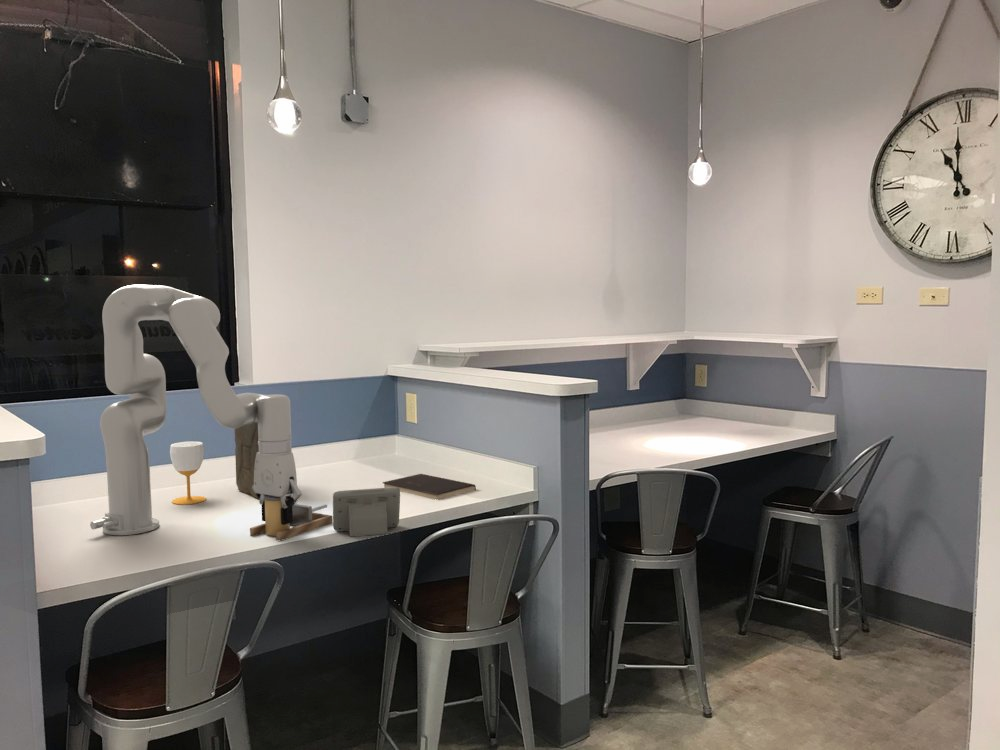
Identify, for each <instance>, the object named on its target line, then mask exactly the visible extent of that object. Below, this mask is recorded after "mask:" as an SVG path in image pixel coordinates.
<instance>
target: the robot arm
mask: <svg viewBox="0 0 1000 750" xmlns="http://www.w3.org/2000/svg"><path fill="white" fill-rule="evenodd" d="M101 314H102V315H101V317H102V328H103V329H102V330H103V337H104V340H103V341H104V345H103V347H104V348H103V349H104V350H103V351H104V379H105V384H106V388H107V389H108V390H109V391H110V392H111V393H113V394H114V395H119V396H127V395H129V399H125V400H121V401H117V402H114V403H112V404H110V405H108V406H107V407H105V409H104V410H103V412H102V414H101V416H100V419H99V420H100V421H99V426H100V427H99V428H100V431H101V432H100V433H101V437H102V440H103V443H104V451H105V463H106V475H107V476H106V477H107V479H106V480H107V495H108V496H107V498H108V512H106V513H104V517H103V518H102V519H96V520H93V521H91V522H90V524H89V526H90V528H91V530H93V531H94V530H97V529H101V528H102V532H103V533H104V534H106V535H109V536H110V535H112V536H129V535H137V534H143V533H148V532H151V531H153V530H155V529H157V528H158V527H159V526H160V520H158V519H157V518H155V517H153V509H152V488H151V487H152V486H151V469H150V468H151V466H150V455H149V449H148V447H147V443H146V441H145V439H144V436H147V435H151V434H153V433H155V432H157V431H159V430H160V429H161V428H162V427H163V426H164V424H165V421H166V417H167V388H166V387H167V385H166V384H167V382H166V381H167V379H166V371H165V368H164V366H163V364H162V362H161V361H160V359H158V358H157V357H155V356H154V355H151V354H150V353H149V354H148V353H144V338H143V333H142V330H141V328H140V326H139V323H140V322H141V321H165V322H169V324H170V326H171V327H172V329H173V332H174V333H175V335H176V336H177V338H178V340H179V341H180V344H181V345H182V346H183V348H184V350H185V351H186V353H187V354H188V356H189V358H190V359H191V361H192V363H193V364H194V366H195V370H196V379H197V380H196V381H197V385H198V390H199V394H200V396H201V398H202V401H203V402H204V404H205V406H206V407H207V408H208V410H209V412H210V414H211V416H212V417H213V418H214V420H215V421H216V422H217V423H218V424H219V425H221V427H223V428H226V429H229V430H234V429H236V428H239V427H242V426H245V425H249V424H252V423H257V422H258V445H259V452H257V454H256V459H255V467H254V485H253V486H252V489H253V490H254V492H255V493H256V495H257V497H258V500H259V502H258V503H259V504H260V505H261V521H262V522H265V499H264V495H269V496H275V497H280V499H281V502H282V506H283V508H281V524H282V525H285V524H289V523H292V522H293V510H292V506H294V505H295V504H296V503H297V501H298V499H300V498H301V496H302V491H301V490H300V488H299V487H298V481H297V479H298V478H297V468H296V461H295V457H294V453H293V452H292V451H293V450H292V445H293V444H292V420H291V418H292V417H291V410H292V409H291V400H290V397H289V396H288V395H285V394H281V393H279V394H278V393H277V394H276V393H275V394H274V393H273V394H260V393H257V392H243V393H238V394H237V393H236V392H235V391H234V389H233V388H232V385H231V384H230V382H229V380H228V378H227V374H226V362H227V360H228V356H229V355H230V350H229V346H228V345H227V344H226V342H225V340H224V339H223V337H222V335H221V334H220V332H219V331H218V329H217V327H218V325H219V323H220V322H221V313H220V309H219V308H218V305H216V303H214V302H213V301H212V300H211V299H208V298H206V297H204V296H201V295H200V296H199V295H196V294H193V293H190V292H186V291H183V290H180V289H177V288H174V287H172V286H167V285H160V284H158V285H157V284H154V285H153V284H131V285H126V286H122V287H120V288H118V289H116V290H114V291H113V292H111V294H110V295H109V296H108V297H107V298H106V300H105V302H104V305H103V307H102V313H101ZM287 496H288V500H287V501H286V497H287Z"/></svg>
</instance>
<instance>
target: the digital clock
mask: <svg viewBox="0 0 1000 750" xmlns="http://www.w3.org/2000/svg"><path fill="white" fill-rule="evenodd" d="M400 503H401V492H400V489H399V488H396V487H389V488H384V487H378V488H376V487H374V488H363V489H362V488H361V489H346V490H345V489H344V490H338V491H335V492H333V494H332V528H333V530H334V531H335V532H348V535H349V537H352V538H353V537H363V536H376V535H377V536H378V535H386V534H388V528H395V527H397V526H398V525H399V523H400V511H401V510H400V509H401V508H400V507H401V506H400V505H401V504H400Z"/></svg>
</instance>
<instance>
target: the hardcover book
mask: <svg viewBox="0 0 1000 750" xmlns="http://www.w3.org/2000/svg"><path fill="white" fill-rule="evenodd" d="M382 484H384V486H383V488H389V487H396V488H399V489H400V493H406V494H411V495H413V494H414V496H418V497H421V498H422V497H423V498H428V499H432V500H435V499H436V500H437V499H438V500H441V498H442V499H445V497H446V498H449V496H450V497H454V496H457V494H458V495H460V494H465V493H469V492H472V490H473V491H476V490H477V489H476V487H477V486H476V484H473V483H469V482H464V481H459V480H454V479H448V478H444V477H440V476H439V477H438V476H434V475H430V474H429V475H428V474H423V473H417V474H414V475H409V476H403V477H400V478H396V479H391V480H387V481H386V480H385V481H383V482H382ZM468 491H469V492H468ZM453 495H454V496H453Z"/></svg>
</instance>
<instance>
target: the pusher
mask: <svg viewBox="0 0 1000 750" xmlns="http://www.w3.org/2000/svg"><path fill="white" fill-rule="evenodd" d="M326 508H328V504H327V503H326V504H322V505H318V506H316V507H313V506H311V505H304V504H300V503H299V504H298V503H295V505H294V506H292V510H293V522H292V523H290V526H291V525H292V526H299V525H302V524H305V523H308V522H311V521H312V512H313V513H316V512H317V511H321V510H324V509H326Z"/></svg>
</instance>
